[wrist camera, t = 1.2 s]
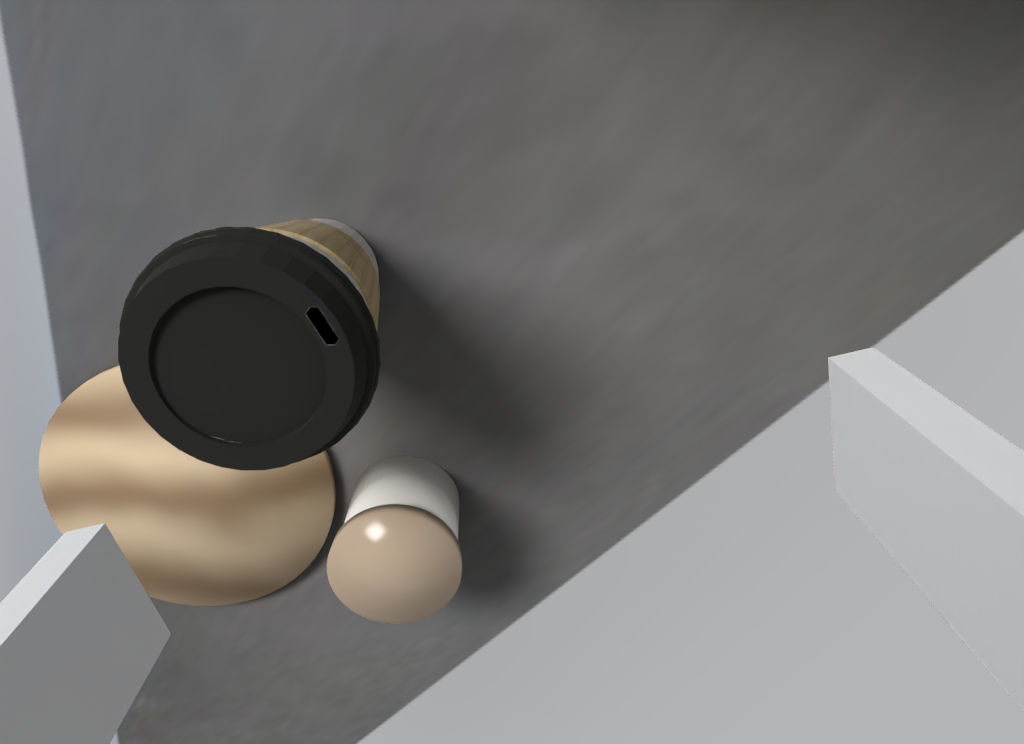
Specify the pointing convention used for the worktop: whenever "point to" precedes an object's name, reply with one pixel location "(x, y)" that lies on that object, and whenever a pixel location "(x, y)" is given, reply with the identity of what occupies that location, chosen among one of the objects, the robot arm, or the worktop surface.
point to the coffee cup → (254, 341)
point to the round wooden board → (180, 502)
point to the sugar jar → (398, 543)
